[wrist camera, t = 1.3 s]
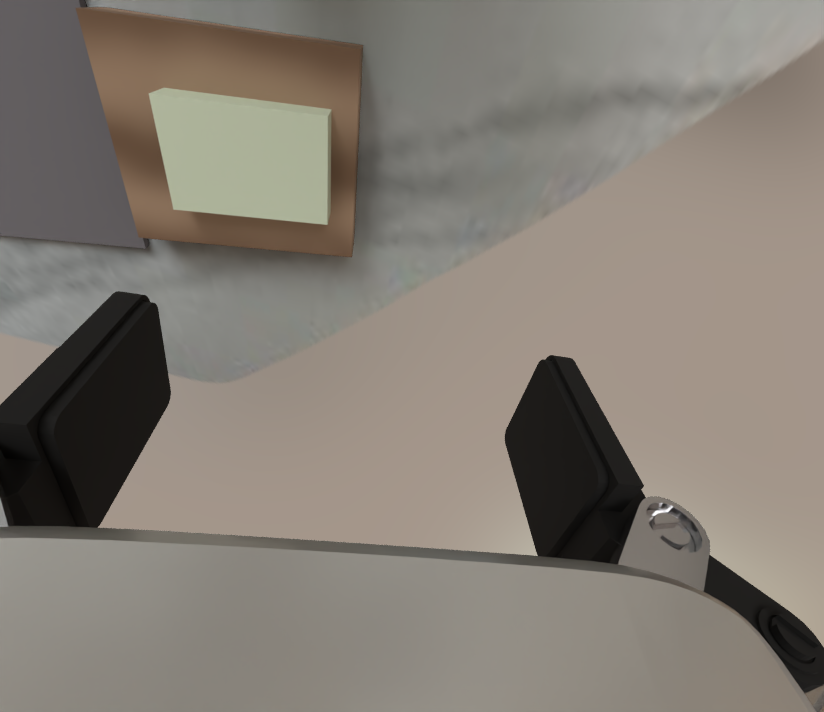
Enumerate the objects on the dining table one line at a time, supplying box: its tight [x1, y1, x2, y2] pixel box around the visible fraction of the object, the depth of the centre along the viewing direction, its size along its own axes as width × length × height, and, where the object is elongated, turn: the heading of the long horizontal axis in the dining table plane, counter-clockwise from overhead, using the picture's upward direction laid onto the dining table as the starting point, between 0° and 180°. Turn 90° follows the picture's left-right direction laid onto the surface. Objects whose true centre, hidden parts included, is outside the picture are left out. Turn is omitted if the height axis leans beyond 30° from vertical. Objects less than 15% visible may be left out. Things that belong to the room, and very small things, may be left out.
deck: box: [76, 7, 363, 257], centre depth 27 cm, size 12×14×3 cm
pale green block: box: [149, 88, 331, 225], centre depth 25 cm, size 9×6×2 cm, turn 83°
